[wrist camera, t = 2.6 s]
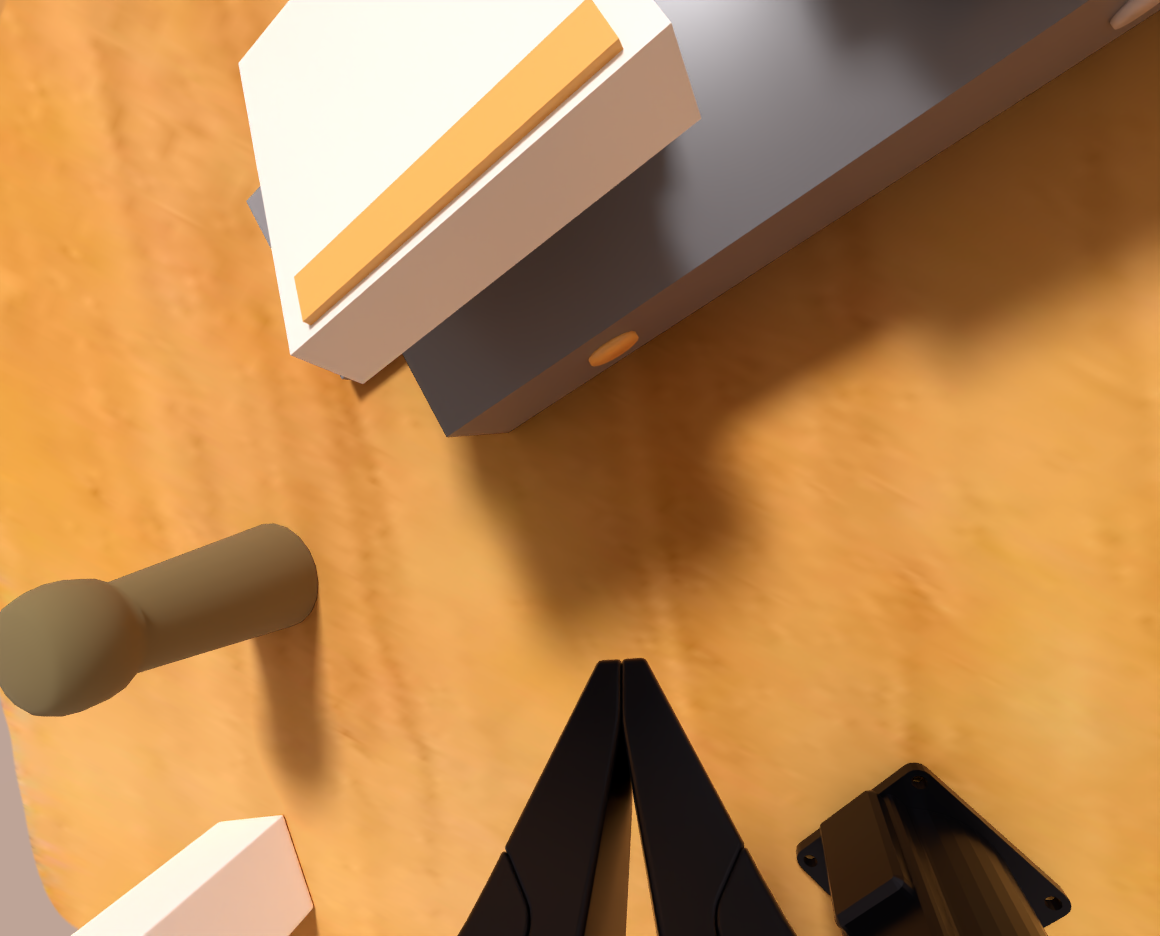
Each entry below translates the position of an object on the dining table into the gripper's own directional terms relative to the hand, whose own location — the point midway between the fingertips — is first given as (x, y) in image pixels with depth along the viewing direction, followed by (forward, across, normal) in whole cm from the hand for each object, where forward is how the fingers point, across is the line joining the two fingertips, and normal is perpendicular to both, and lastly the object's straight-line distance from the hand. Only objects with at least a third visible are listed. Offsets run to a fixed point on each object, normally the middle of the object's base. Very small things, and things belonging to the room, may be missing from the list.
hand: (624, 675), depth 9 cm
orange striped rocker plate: (+10, +4, -10) cm, 15 cm away
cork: (+16, +20, +8) cm, 27 cm away
